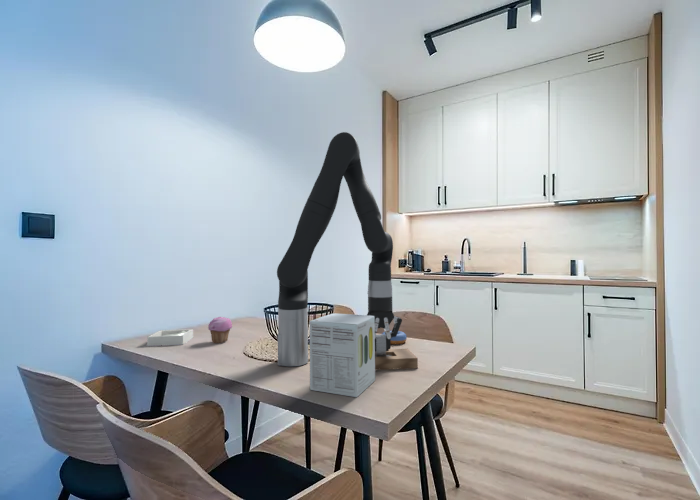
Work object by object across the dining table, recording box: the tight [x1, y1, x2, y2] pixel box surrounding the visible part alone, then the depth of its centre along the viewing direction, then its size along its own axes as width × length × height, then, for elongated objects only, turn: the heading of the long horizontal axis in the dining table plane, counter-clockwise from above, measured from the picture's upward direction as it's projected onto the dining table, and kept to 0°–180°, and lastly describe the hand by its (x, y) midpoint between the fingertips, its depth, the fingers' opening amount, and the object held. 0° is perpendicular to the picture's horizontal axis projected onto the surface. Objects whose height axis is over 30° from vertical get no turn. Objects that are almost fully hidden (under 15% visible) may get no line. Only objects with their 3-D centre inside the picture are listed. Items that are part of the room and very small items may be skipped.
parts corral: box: [146, 328, 194, 347], centre depth 145 cm, size 13×12×4 cm
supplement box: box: [309, 312, 376, 398], centre depth 95 cm, size 13×13×18 cm
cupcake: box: [207, 316, 233, 344], centre depth 143 cm, size 9×9×10 cm
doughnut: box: [381, 330, 408, 345], centre depth 141 cm, size 10×10×5 cm
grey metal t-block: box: [375, 333, 391, 357], centre depth 112 cm, size 7×3×8 cm, turn 96°
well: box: [375, 348, 419, 371], centre depth 112 cm, size 20×11×3 cm, turn 96°
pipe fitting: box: [165, 331, 186, 336], centre depth 145 cm, size 8×4×7 cm
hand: (380, 350), depth 112 cm, fingers open, 3 cm apart
